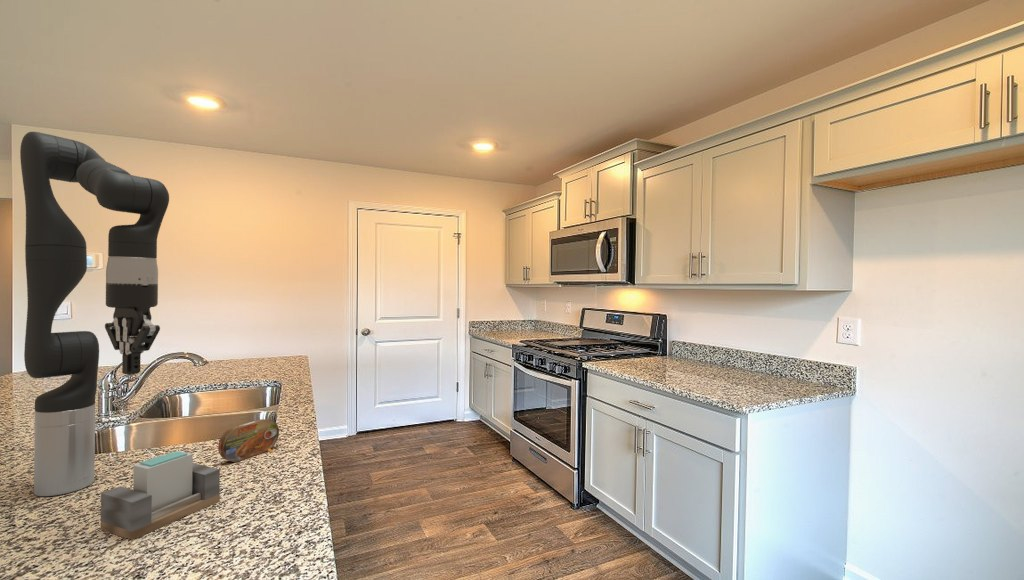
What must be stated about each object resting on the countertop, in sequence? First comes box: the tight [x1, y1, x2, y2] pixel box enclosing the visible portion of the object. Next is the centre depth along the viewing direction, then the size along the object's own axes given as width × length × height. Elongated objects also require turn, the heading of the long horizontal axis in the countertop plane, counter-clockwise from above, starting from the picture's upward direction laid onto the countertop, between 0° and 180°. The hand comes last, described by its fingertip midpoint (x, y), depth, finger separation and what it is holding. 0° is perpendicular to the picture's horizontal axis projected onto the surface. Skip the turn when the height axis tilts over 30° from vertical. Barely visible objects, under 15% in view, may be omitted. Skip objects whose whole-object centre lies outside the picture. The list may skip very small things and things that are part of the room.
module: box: [132, 450, 194, 512], centre depth 86 cm, size 4×8×9 cm, turn 158°
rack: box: [100, 462, 221, 541], centre depth 86 cm, size 9×16×6 cm, turn 159°
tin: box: [217, 418, 280, 463], centre depth 116 cm, size 15×3×8 cm, turn 154°
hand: (131, 373), depth 85 cm, fingers closed
